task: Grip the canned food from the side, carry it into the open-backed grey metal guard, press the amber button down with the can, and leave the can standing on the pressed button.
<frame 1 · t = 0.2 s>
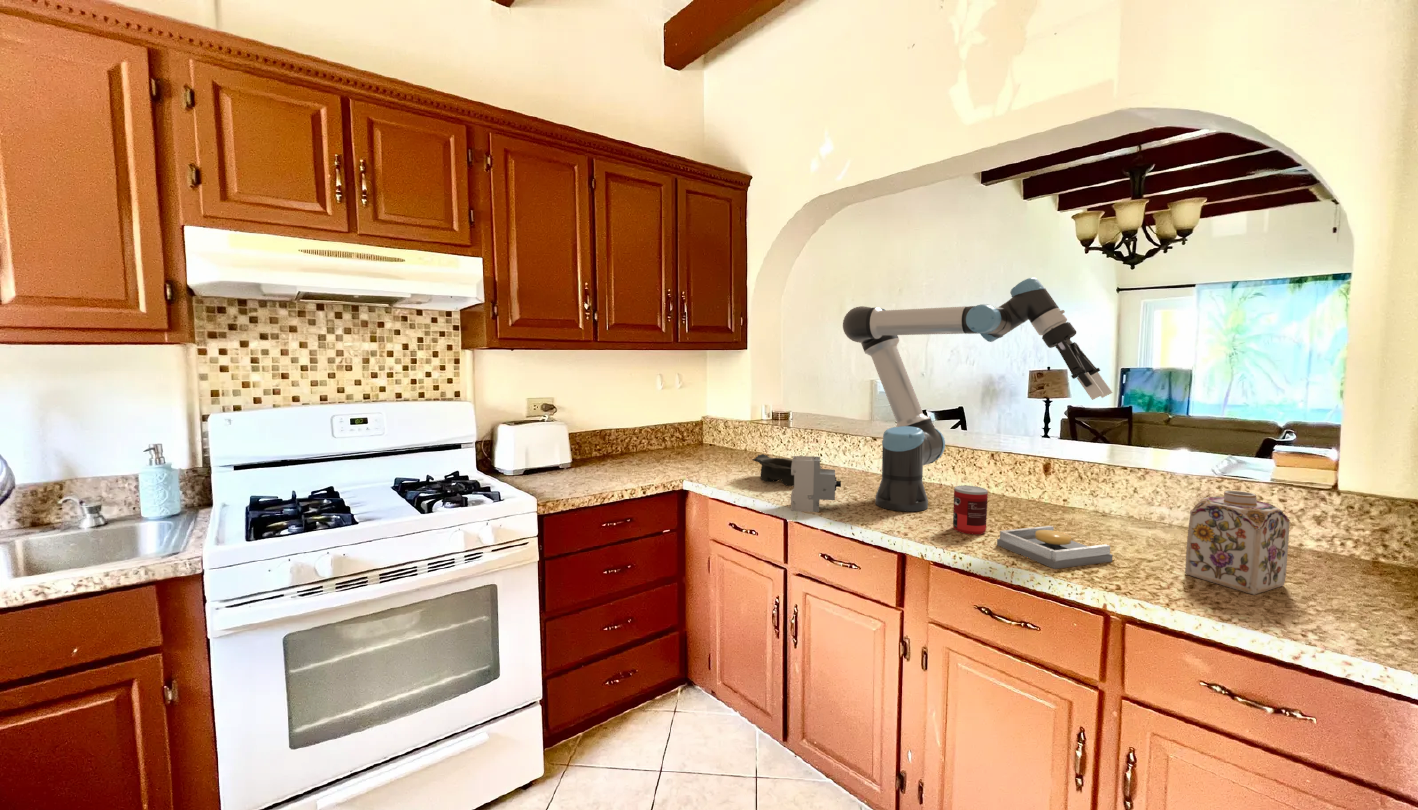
hand: (1102, 396, 147), 35 cm above the worktop, tool tilted 35°, fingers open, 13 cm apart
switch base: (1052, 552, 130), on the worktop
canned food: (969, 531, 147), on the worktop
circuit breaker: (815, 509, 169), on the worktop
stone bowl: (788, 481, 206), on the worktop
button: (1052, 539, 130), point 3 cm above the worktop, slide at 1.5 cm
decorative jar: (1233, 581, 114), on the worktop
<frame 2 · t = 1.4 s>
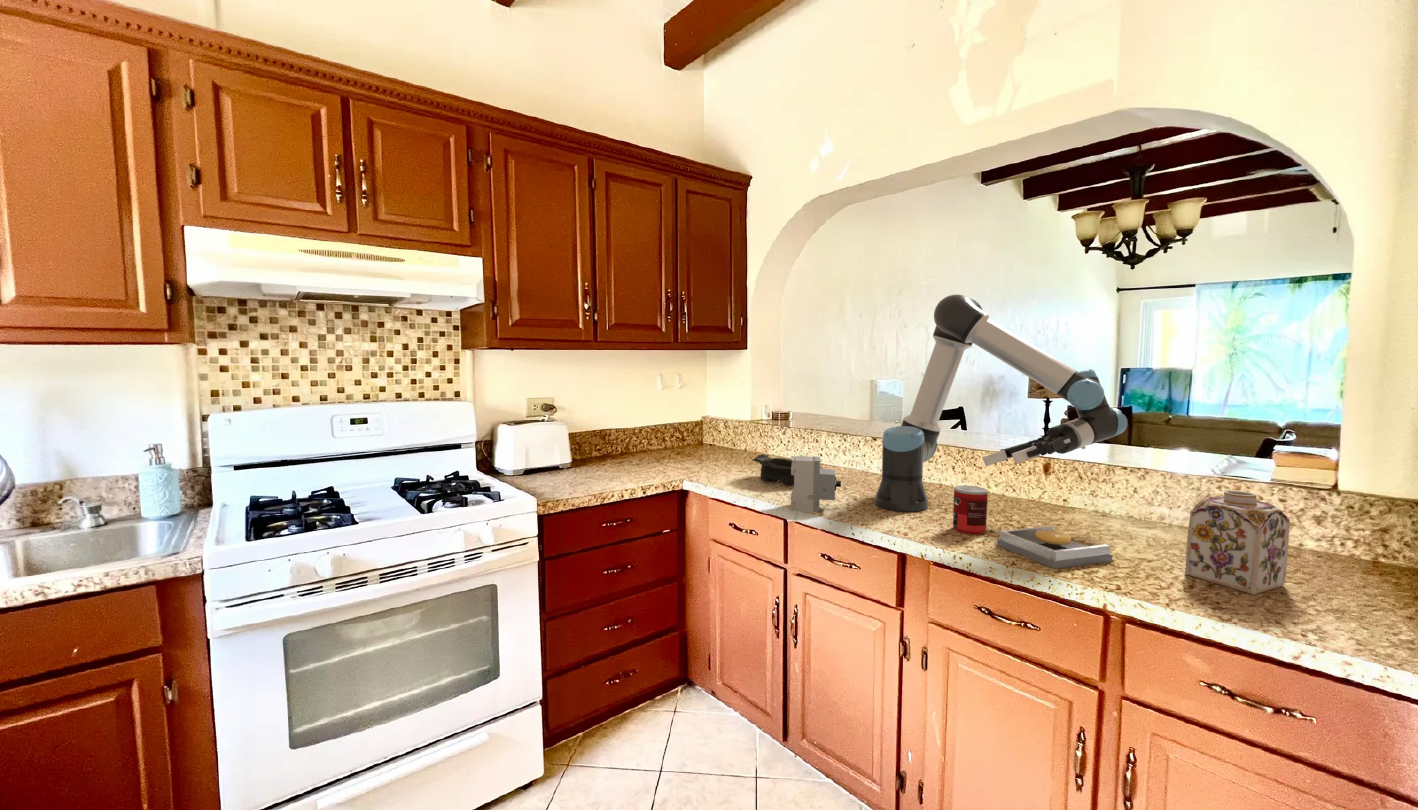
hand: (998, 460, 151), 18 cm above the worktop, tool tilted 75°, fingers open, 13 cm apart
nothing on the worktop moved.
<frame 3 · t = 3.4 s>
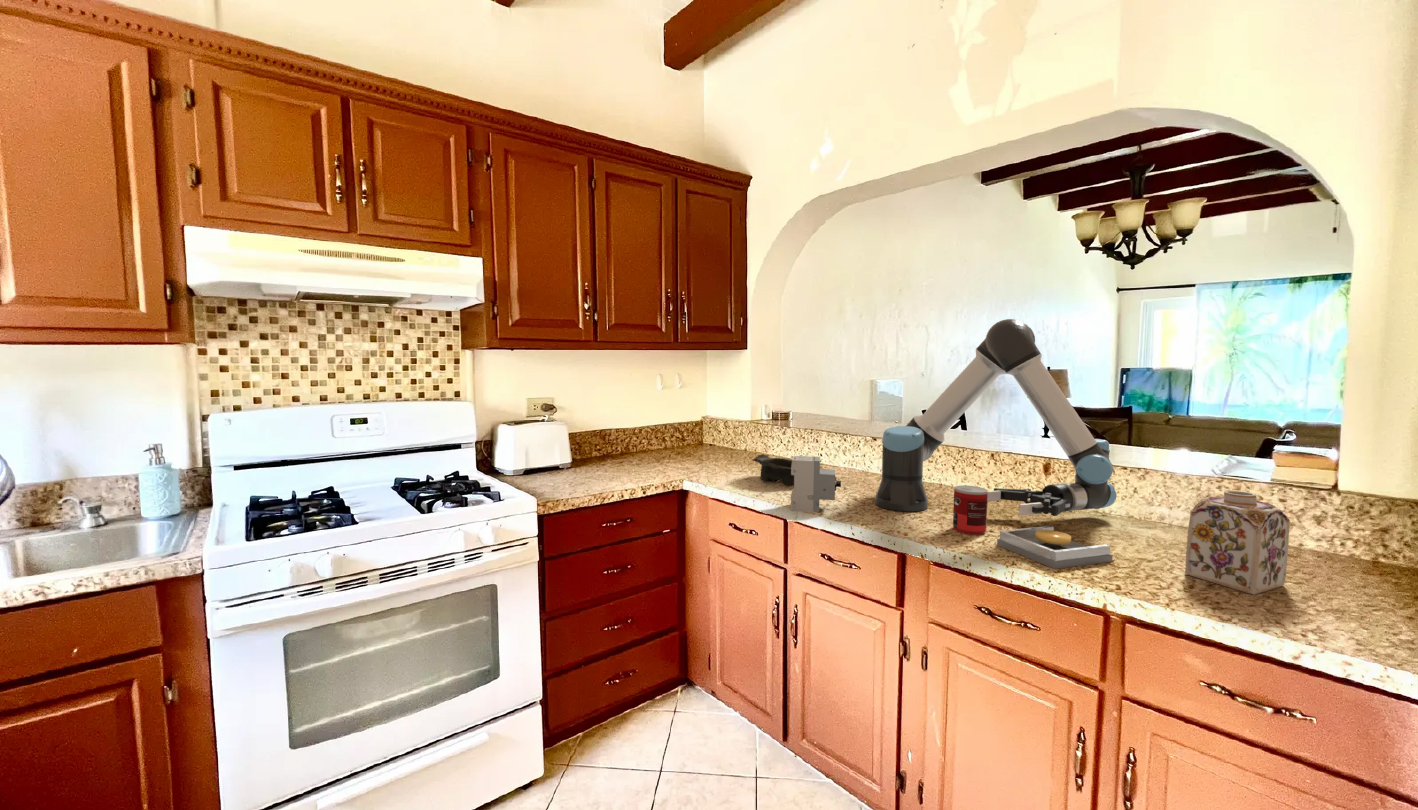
hand: (999, 503, 149), 7 cm above the worktop, tool horizontal, fingers open, 13 cm apart
nothing on the worktop moved.
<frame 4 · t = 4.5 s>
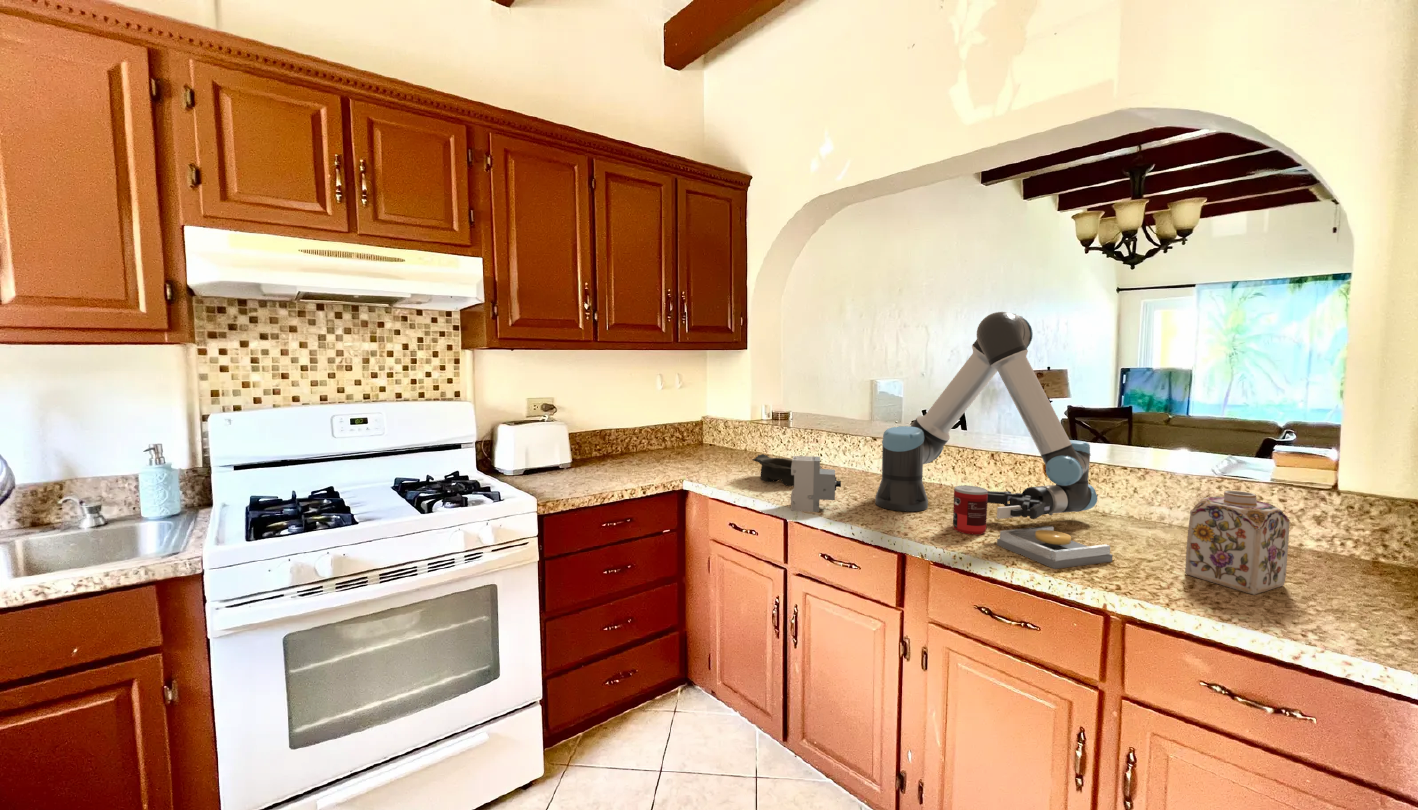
hand: (977, 506, 147), 6 cm above the worktop, tool horizontal, fingers open, 13 cm apart
nothing on the worktop moved.
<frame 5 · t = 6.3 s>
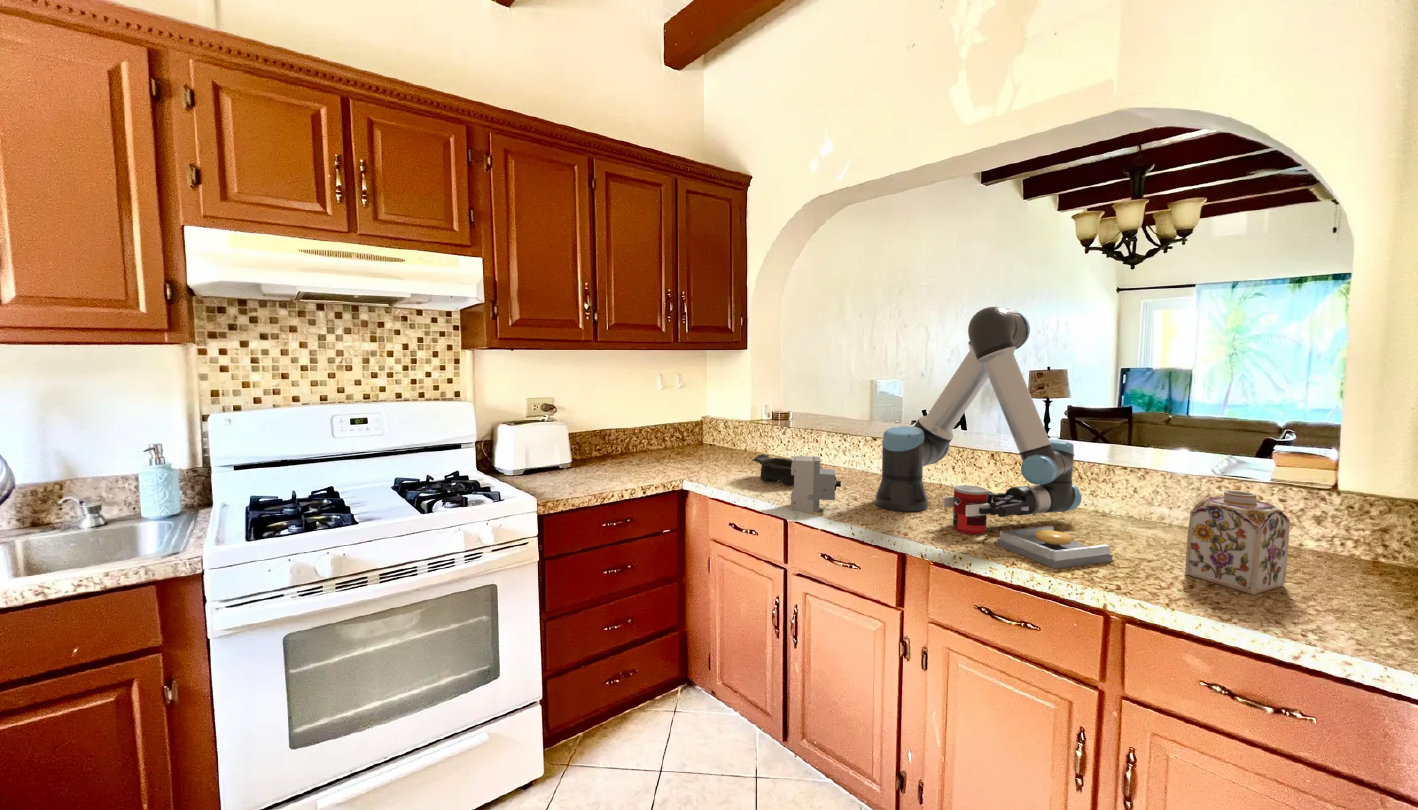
hand: (954, 506, 145), 7 cm above the worktop, tool horizontal, fingers closed on canned food, 8 cm apart
canned food: (969, 531, 147), on the worktop, touching gripper
everything else where it was.
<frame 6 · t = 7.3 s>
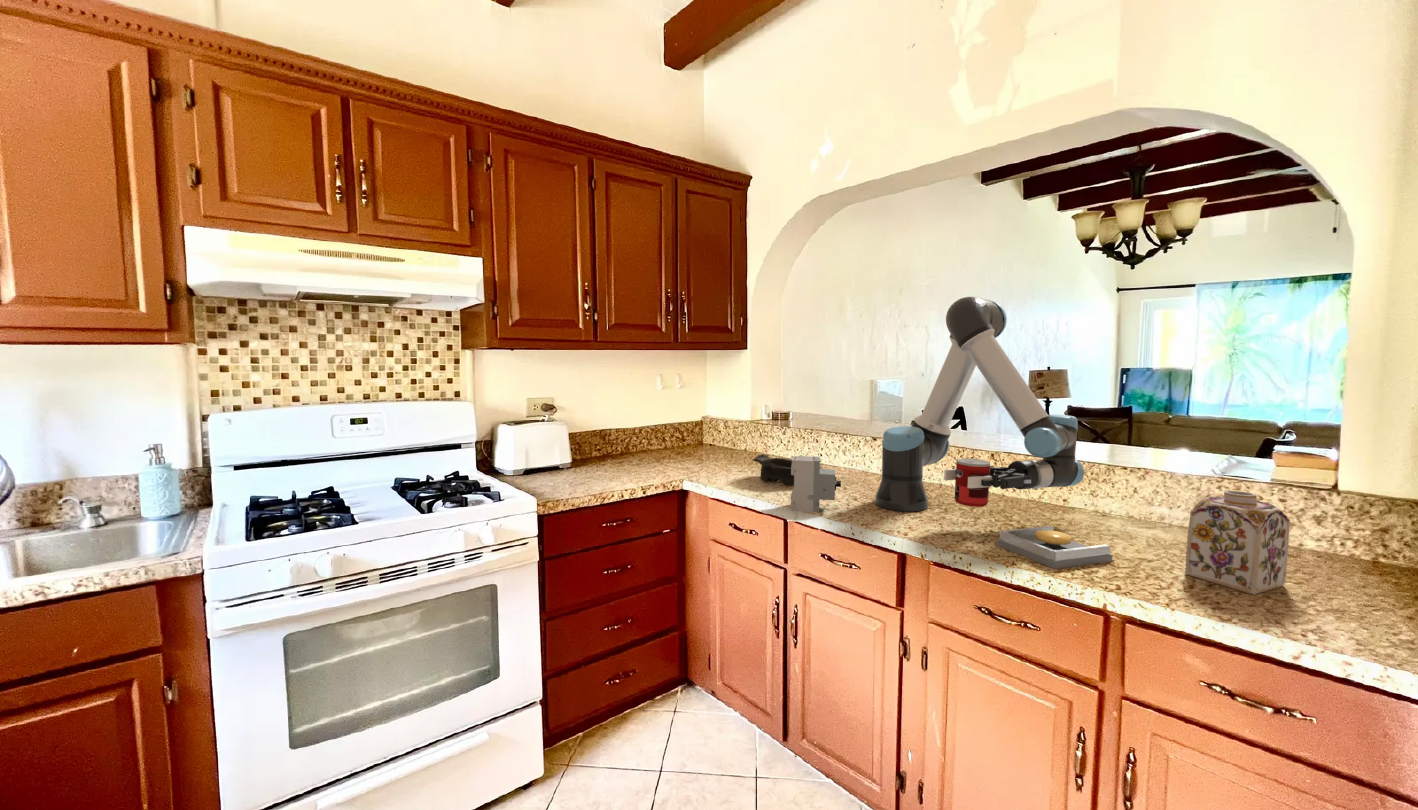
hand: (956, 478, 145), 14 cm above the worktop, tool horizontal, fingers closed on canned food, 8 cm apart
canned food: (970, 503, 147), point 7 cm above the worktop, touching gripper
everything else where it was.
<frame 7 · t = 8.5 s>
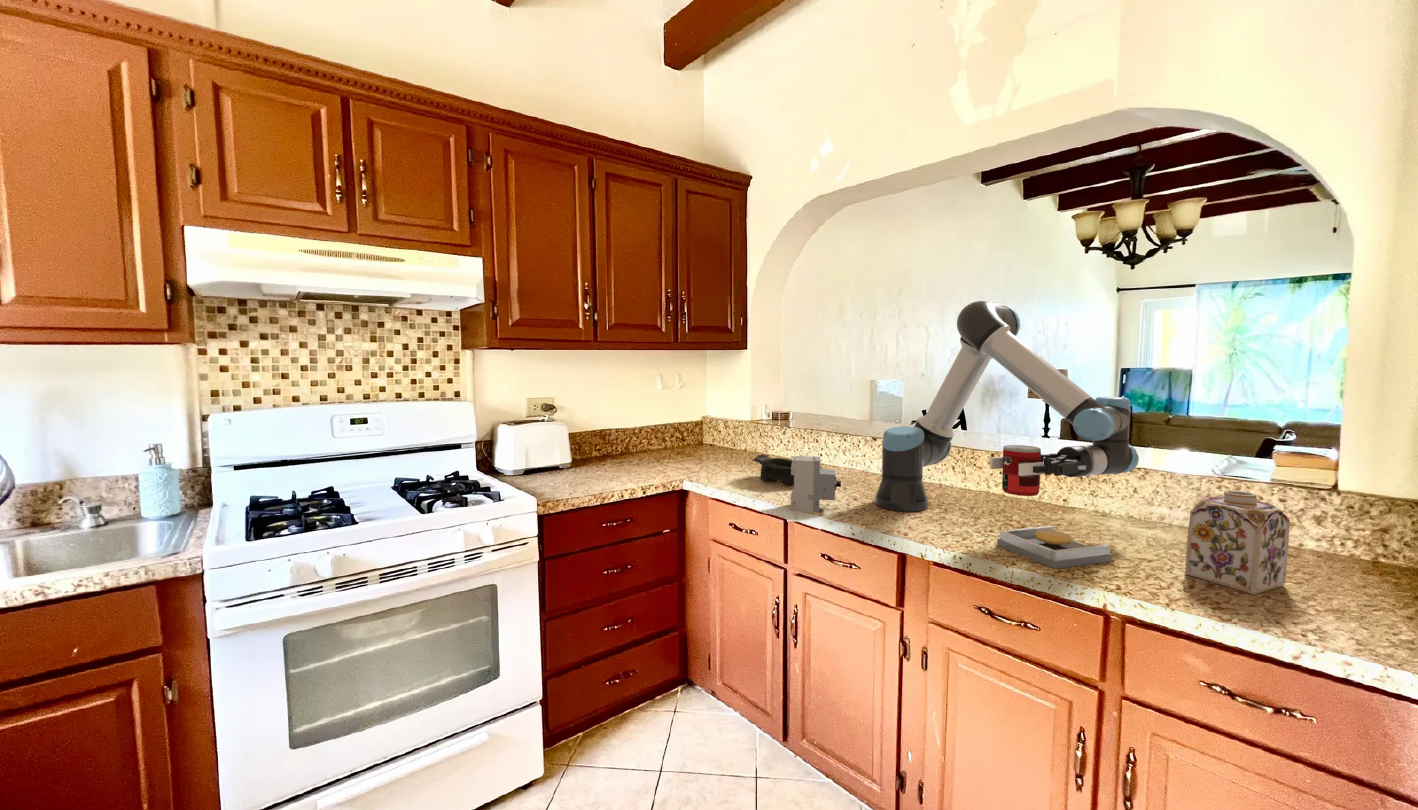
hand: (1005, 466, 134), 19 cm above the worktop, tool horizontal, fingers closed on canned food, 8 cm apart
canned food: (1020, 493, 136), point 12 cm above the worktop, touching gripper
everything else where it was.
when the fingers open (9 cm above the worktop, at t = 11.9 s): canned food stays where it is, resting on button.
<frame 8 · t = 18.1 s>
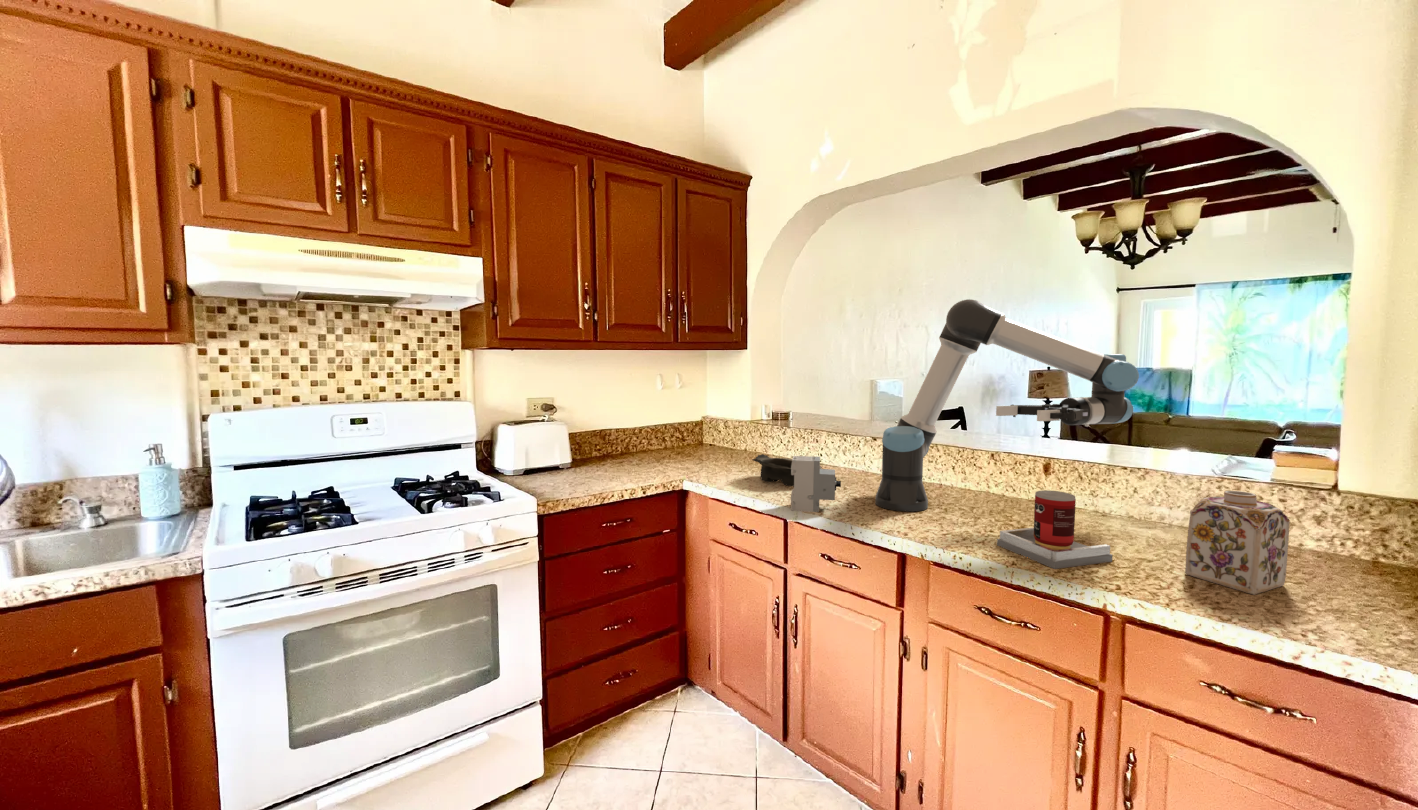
hand: (1016, 413, 150), 30 cm above the worktop, tool horizontal, fingers open, 13 cm apart
canned food: (1053, 542, 130), point 3 cm above the worktop, touching button
button: (1052, 546, 130), point 2 cm above the worktop, slide at -0.1 cm, touching canned food
everything else where it was.
at the end: button slide at -0.1 cm; canned food inside the target area on the switch base (0.1 cm from its centre), point 2.5 cm above the switch base's base; canned food tilted 0° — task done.
